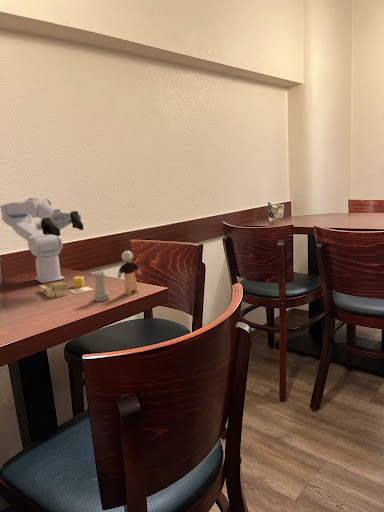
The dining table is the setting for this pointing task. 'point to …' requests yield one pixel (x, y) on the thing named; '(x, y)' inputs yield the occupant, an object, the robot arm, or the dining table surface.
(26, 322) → the dining table surface
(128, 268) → the grandmother figurine
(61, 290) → the maple cube
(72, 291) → the card
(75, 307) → the dining table surface
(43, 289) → the backstop
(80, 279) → the alphabet block
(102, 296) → the rook chess piece
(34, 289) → the dining table surface
